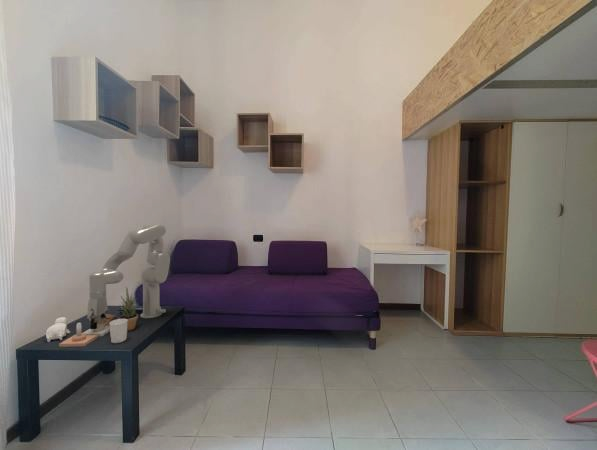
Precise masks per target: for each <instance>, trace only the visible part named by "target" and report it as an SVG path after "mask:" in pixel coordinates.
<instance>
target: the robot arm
mask: <svg viewBox="0 0 597 450" xmlns="http://www.w3.org/2000/svg"><path fill="white" fill-rule="evenodd" d="M166 231H167V230H166V227H165V226H164V225H162V224H161V223H147V224H145V225H143V227H142V229H130V230H128V232H127V234H126V236H125V237H124V239H123V241H122V243H121V244H120V246H119V248H118V250H117V251H116V252H115V253H114V254H112V255H111V257H110V258H108V259H107V261H106V262H105V263H104V265H103V266H102V268H101V270H100V271H96V272H95V271H94V272H92V273H90V274H89V276H88V277H89V299H88V301H87V317H86V318H87V320H88V321H89V326H90V328H89V329H97V321H96V320H97V318H98V317H99V316H100V318H106V315H107V314H108V310H109V306H108V299H107V285H113V284H119V283H120V282H121V281H123V280H124V274H123V272H122V271H120V270H117V269H118V268H119V266H120V265H121V264H122V263H123V262H125V261H127V260H129V259H131V258H132V257H134V254H135V252H136V251H137V249H138V247H139V245H140V244H141V245H143V244H144V245H145V244H148V251H147V256H146V262H147V264H149V265H151V266H148V267H145V268H144V269H143V270H142V272H141V275H140V276H141V282H142V306H143V307H142V312H141V314H140V318H142V319H153V318H157V317H160V316H161V315H163V314H164V313H166V312H167V310H166V308H162V307H161V306H160V303H161V302H160V284H163V283H164V282H165V281H166V280H167V278H168V276H169V269H170V264H171V257H170V255H169V253H168V252H166V251H164V239H163V237H164V236H165V234H166Z"/></svg>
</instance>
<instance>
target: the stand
mask: <svg viewBox="0 0 597 450" xmlns="http://www.w3.org/2000/svg"><path fill="white" fill-rule="evenodd" d="M98 317H99V316H98ZM98 317H97V320H96V321H100V320H101V318H100V317H99V318H98ZM83 333H86V335H98V337H104V336H105V335H106V334H108V333H110V325H109V326H105V325H104V326H102V327H97V329H90V328H89V329H87V330H85V331H84V332H83Z"/></svg>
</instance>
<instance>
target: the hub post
mask: <svg viewBox="0 0 597 450" xmlns="http://www.w3.org/2000/svg"><path fill="white" fill-rule="evenodd" d="M75 329H76V334H73V335H72V336H70V337H69V338H67V339H65V340H63V341H62V342H59V343H58V347H59V348H66V347H71V348H72V347H86V346H87V345H89V344H90V343H92V342H93V341H95V340H96V339H98V338H99V336H98V335H86V333H84V332H82V323H81V322H77V323H76V328H75Z"/></svg>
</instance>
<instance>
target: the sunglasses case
mask: <svg viewBox="0 0 597 450" xmlns="http://www.w3.org/2000/svg"><path fill="white" fill-rule="evenodd" d="M106 314H107V315H106V319H107V324H106V325H105V326H110V322H111V321H113V320H115V318H116V317H117V315H113V314H110V313H106ZM99 317H100V315H99V316H97V318H99Z"/></svg>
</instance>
